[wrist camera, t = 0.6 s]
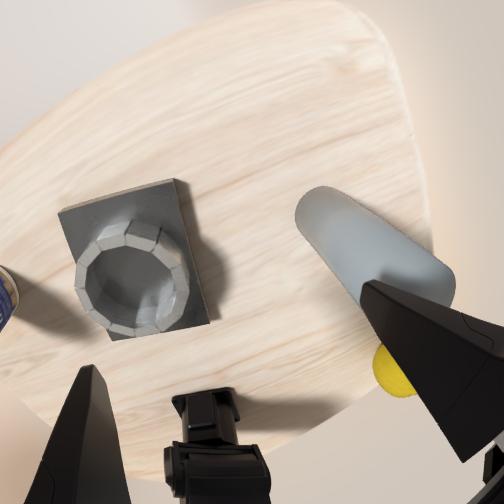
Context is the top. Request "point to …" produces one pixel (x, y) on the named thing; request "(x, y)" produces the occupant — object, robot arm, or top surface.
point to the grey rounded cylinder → (369, 248)
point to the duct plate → (135, 262)
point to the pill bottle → (7, 297)
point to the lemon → (391, 375)
